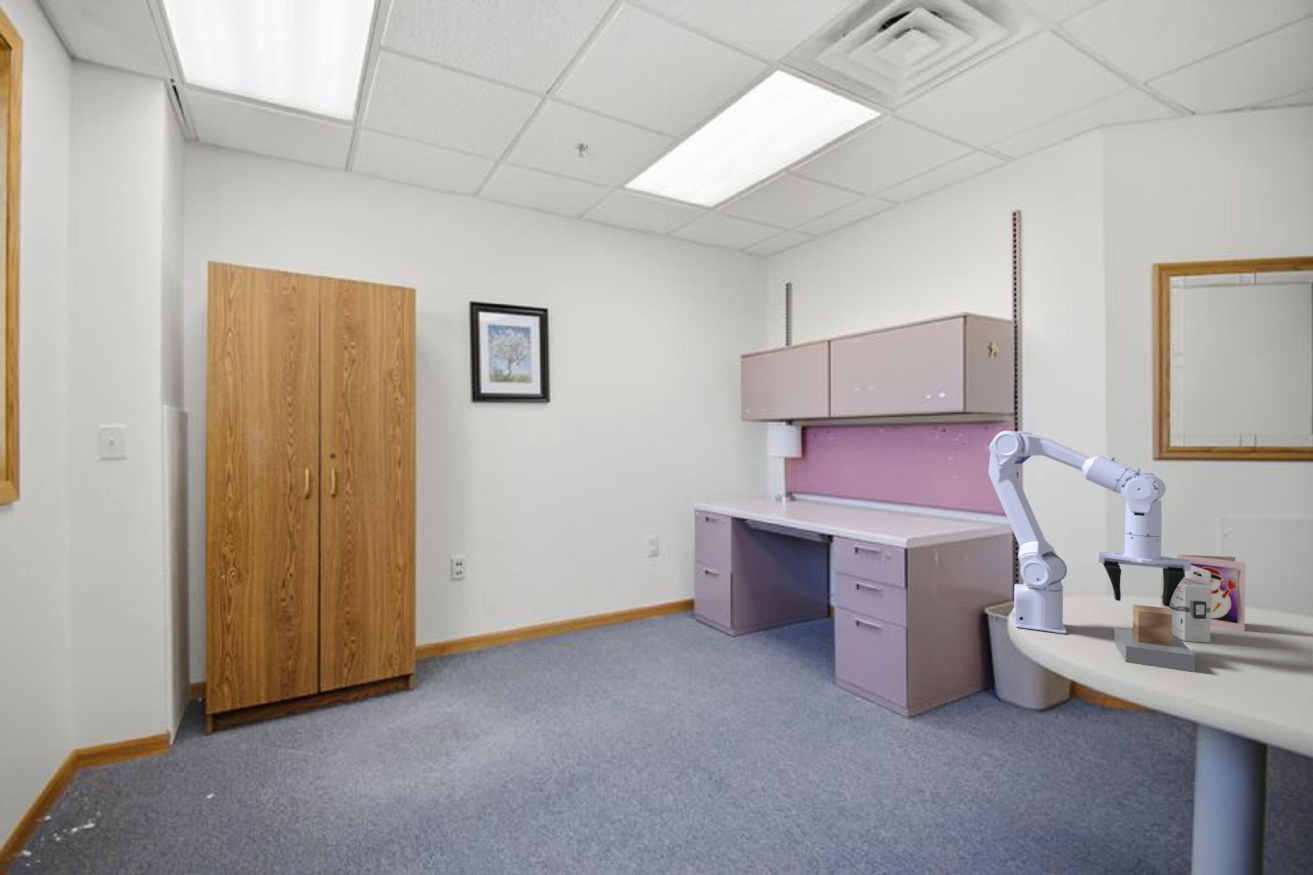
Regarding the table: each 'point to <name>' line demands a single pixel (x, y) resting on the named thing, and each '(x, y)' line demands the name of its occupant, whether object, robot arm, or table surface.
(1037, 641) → the table surface
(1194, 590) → the ink box
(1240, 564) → the greeting card
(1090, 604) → the table surface
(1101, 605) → the table surface
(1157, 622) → the walnut block
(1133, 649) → the gray rectangular slab
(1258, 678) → the table surface
